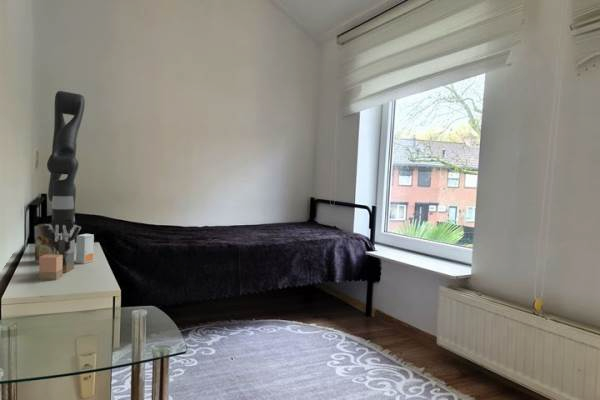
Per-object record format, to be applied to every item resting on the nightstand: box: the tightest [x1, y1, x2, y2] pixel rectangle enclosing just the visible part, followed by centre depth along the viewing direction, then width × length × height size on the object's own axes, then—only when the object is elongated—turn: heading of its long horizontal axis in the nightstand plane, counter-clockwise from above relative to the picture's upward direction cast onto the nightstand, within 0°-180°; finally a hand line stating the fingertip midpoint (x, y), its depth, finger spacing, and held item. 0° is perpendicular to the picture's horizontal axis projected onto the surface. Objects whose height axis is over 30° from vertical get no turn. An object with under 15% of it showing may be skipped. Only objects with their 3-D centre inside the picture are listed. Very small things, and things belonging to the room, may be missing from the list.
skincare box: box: [75, 233, 95, 265], centre depth 188 cm, size 6×4×12 cm
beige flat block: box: [59, 239, 69, 263], centre depth 168 cm, size 12×3×9 cm, turn 5°
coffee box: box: [33, 223, 63, 264], centre depth 185 cm, size 9×6×16 cm
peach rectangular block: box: [38, 254, 63, 281], centre depth 162 cm, size 5×6×8 cm
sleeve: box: [57, 253, 75, 274], centre depth 173 cm, size 7×5×7 cm, turn 5°
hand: (62, 250), depth 172 cm, fingers closed on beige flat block, 2 cm apart
